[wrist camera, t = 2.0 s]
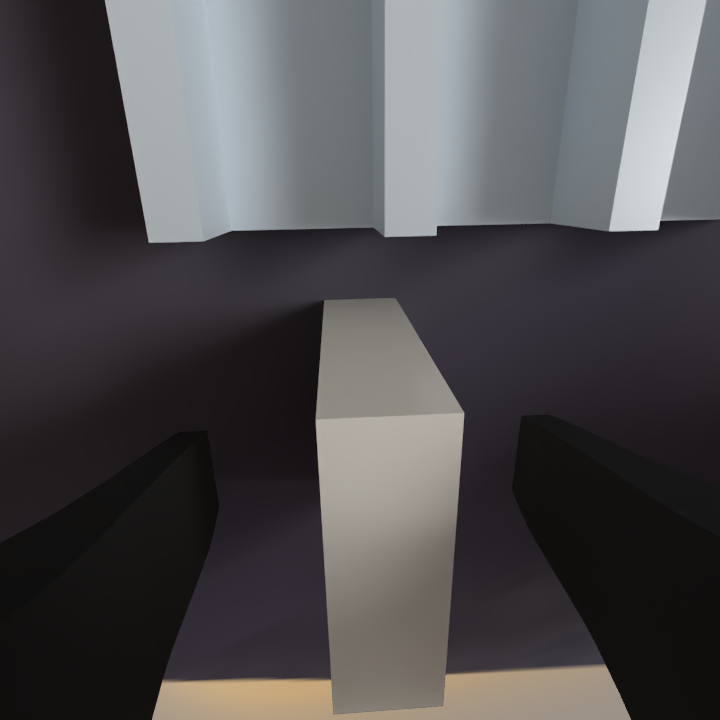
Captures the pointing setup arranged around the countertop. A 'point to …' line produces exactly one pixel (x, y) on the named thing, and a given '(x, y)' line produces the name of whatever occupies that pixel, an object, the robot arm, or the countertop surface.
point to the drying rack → (419, 113)
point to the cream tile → (385, 507)
